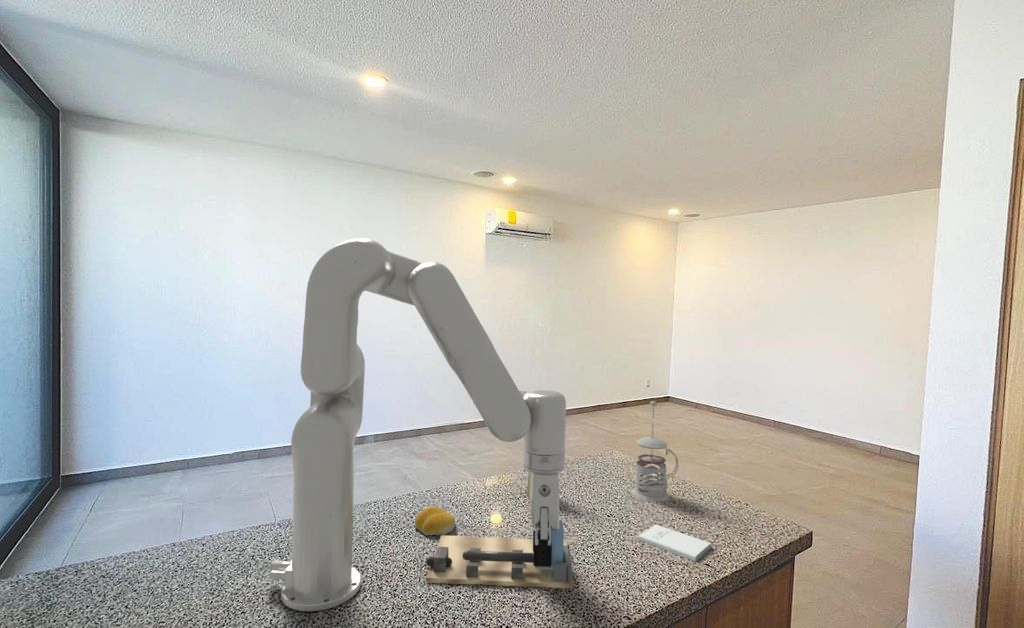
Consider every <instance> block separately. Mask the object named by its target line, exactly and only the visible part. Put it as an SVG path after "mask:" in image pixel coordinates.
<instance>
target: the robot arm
mask: <svg viewBox="0 0 1024 628" xmlns="http://www.w3.org/2000/svg"><path fill="white" fill-rule="evenodd" d="M364 292H369V293H372V294H375V295H379V296H382V297H385V298H387V299H392V300H394V301H398V302H401V303H404V304H408V305H411V306H414V307H415V309H416V310H417V313H418V314H419V315H420V317H421V319H422V320H423V322H424V324H425V326H426V327H427V330H428V331H429V334H431V336H432V338H433V340H434V341H435V344H436V345H437V346H438V348H439V350H440V352H441V353H442V355H443V357H444V358H445V361H446V363H447V364H448V366H449V367H450V369H451V370H452V371H453V373H454V374H455V375H456V376H457V378H458V379H459V381H460V382H461V384H462V385H463V387H464V389H465V390H466V393H467V394H468V395H469V397H470V399H471V401H472V403H473V404H474V406H475V408H476V409H477V411H478V413H479V414H480V416H481V418H482V419H483V421H484V423H485V425H486V427H487V428H488V430H489V432H490V433H491V435H493V437H495V438H496V439H498V440H499V441H501V442H506V443H507V442H508V443H510V442H517V441H519V440H521V439H522V438H523V460H522V461H523V465H522V466H523V467H522V468H523V469H524V470H526V471H527V472H530V497H529V506H530V507H529V509H530V519H531V527H532V528H533V529H534V530H532V539H533V552H534V554H533V565H534V566H537V567H550V566H551V559H552V543H551V526H552V528H553V529H556V530H558V529H559V520H560V473H562V472H563V471H564V470H565V466H566V465H565V462H566V421H567V420H566V418H567V415H566V413H567V401H566V397H565V395H564V394H562V393H561V392H558V391H554V390H540V389H539V390H532V391H525V390H524V391H523V390H519V388H518V386H517V385H516V383H515V381H514V380H513V378H512V376H511V375H510V373H509V371H508V369H507V368H506V366H505V364H504V363H503V361H502V359H501V358H500V356H499V354H498V352H497V350H496V349H495V346H494V344H493V343H492V341H491V339H490V337H489V335H488V334H487V332H486V330H485V328H484V327H483V325H482V323H481V321H480V320H479V318H478V316H477V314H476V313H475V311H474V309H473V308H472V306H471V305H472V304H470V302H469V301H468V298H467V296H466V295H465V293H464V291H463V289H462V287H460V285H459V283H458V280H457V279H456V278H455V276H454V274H453V273H452V271H451V270H450V269H449V268H448V267H447V266H446V265H444V264H442V263H439V262H435V261H430V262H423V261H422V262H421V261H418V260H416V259H412V258H409V257H406V256H403V255H399V254H397V253H394V252H391V251H389V250H387V249H386V248H385V247H384V246H383V244H381V243H379V242H378V241H375V240H373V239H369V238H360V237H358V238H354V239H348V240H346V241H343V242H341V243H338V244H337V245H335V246H333V247H331V248H330V249H328V250H327V251H326V252H324V254H323V255H322V256H321V257H319V259H318V261H316V264H314V266H313V269H311V272H310V275H309V278H308V282H307V286H306V294H305V308H304V309H305V310H304V321H303V332H302V349H301V350H302V351H301V359H300V360H301V361H300V376H301V380H302V382H303V384H304V387H306V389H307V390H309V391H310V400H309V401H310V403H309V404H310V405H309V408H308V409H307V410H305V411H304V412H303V413H302V414H301V415H300V416H299V418H298V420H297V421H296V423H295V425H294V428H293V429H292V430H293V431H292V434H291V441H290V442H291V443H290V446H291V447H290V450H291V451H290V452H291V461H292V472H293V473H292V474H293V488H292V490H293V497H292V498H293V500H292V501H293V502H292V503H293V504H292V505H293V506H292V507H293V508H292V548H291V549H292V550H291V551H292V552H291V560H289V561H286V560H278V559H277V560H272V561H271V562H270V566H269V580H273V581H274V580H275V581H277V580H282V581H283V582H284V583H283V584H282V586H281V590H280V599H281V601H282V603H283V604H284V605H285V606H286V607H288V608H289V609H292V610H294V611H300V612H318V611H324V610H328V609H332V608H335V607H337V606H340V605H342V604H343V603H345V602H347V601H349V600H350V599H352V598H353V597H354V596H355V595H356V594H357V593H358V591H359V590H360V588H361V584H362V575H361V573H360V572H359V571H358V570H357V569H356V568H355V567H354V566H353V539H354V538H353V535H354V534H353V531H354V530H353V527H354V496H355V495H354V489H355V487H354V485H355V479H354V478H355V473H354V472H355V467H354V466H355V465H354V445H355V439H356V437H357V435H358V433H359V431H360V428H361V425H362V421H363V407H364V390H365V374H366V373H365V371H366V370H365V367H366V362H365V355H364V352H363V351H362V348H361V347H360V346H359V345H358V342H357V341H358V339H357V338H358V337H357V336H358V325H359V323H358V322H359V302H360V298H361V296H362V295H363V293H364ZM538 523H540V526H538ZM548 524H549V526H548ZM538 531H540V534H539V535H538Z"/></svg>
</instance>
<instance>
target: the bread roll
mask: <svg viewBox="0 0 1024 628" xmlns="http://www.w3.org/2000/svg"><path fill="white" fill-rule="evenodd" d="M414 524H415V527H416V528H417V529H418V530H419V531H420V532H422V534H423V535H425V536H428V535H440V536H441V535H443V534H445V535H447V534H446V533H448V534H449V532H450V533H451V532H453V530H454V529H455V527H456V519H455V516H454V515H453V514H451V513H450V512H449V513H448V512H447V511H446V510H445V509H443V508H442V507H440V506H430V507H426V508H424V509H422V511H420V512H419V513H418V514H417V516H416V517H415V520H414Z"/></svg>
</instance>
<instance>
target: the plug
mask: <svg viewBox="0 0 1024 628" xmlns="http://www.w3.org/2000/svg"><path fill="white" fill-rule="evenodd" d="M538 526H540V523H538ZM548 526H549V524H548ZM539 534H540V531H538V535H539ZM564 535H565V529H564V523H563V520H561V519H559V529H558V530H556V529H553V528H552V526H551V543H552V559H551V566H550V567H537V566H535V568H546V569H554V566H555V563H563V545H564V540H565V537H564ZM533 554H534V553H519V552H490V551H465V552H464V553H463V555H462V556H463V559H464V560H469V561H498V562H526V563H533Z"/></svg>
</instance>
